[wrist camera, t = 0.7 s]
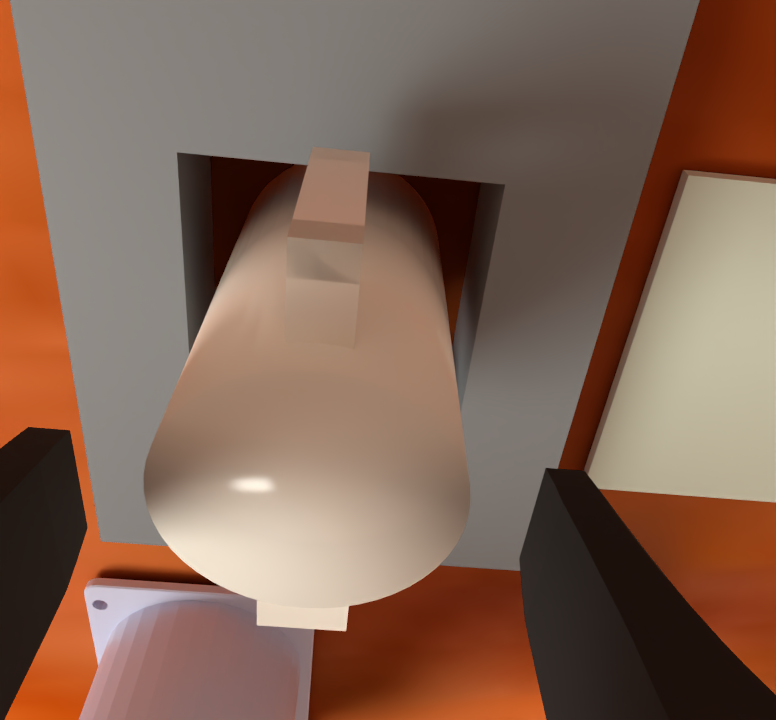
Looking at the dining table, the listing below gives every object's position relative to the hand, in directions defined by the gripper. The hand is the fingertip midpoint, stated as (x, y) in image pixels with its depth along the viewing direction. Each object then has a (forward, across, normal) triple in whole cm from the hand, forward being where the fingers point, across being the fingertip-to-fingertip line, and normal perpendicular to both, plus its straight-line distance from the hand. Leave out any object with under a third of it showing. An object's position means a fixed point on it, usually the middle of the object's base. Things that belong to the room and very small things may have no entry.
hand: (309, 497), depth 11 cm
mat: (+9, -12, +2) cm, 15 cm away
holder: (+9, 0, 0) cm, 9 cm away
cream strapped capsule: (+9, 0, 0) cm, 9 cm away
